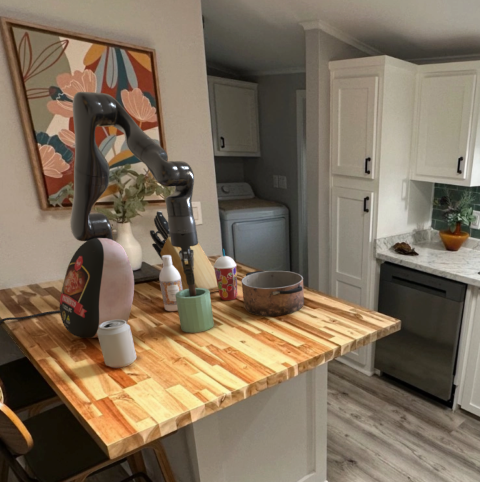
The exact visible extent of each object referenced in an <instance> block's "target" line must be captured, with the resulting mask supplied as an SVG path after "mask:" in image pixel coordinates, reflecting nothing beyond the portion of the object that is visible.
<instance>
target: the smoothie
mask: <svg viewBox="0 0 480 482" xmlns="http://www.w3.org/2000/svg"><path fill="white" fill-rule="evenodd" d="M221 251H222V255H221V256H219V257H217V258H216V260H215V261H214V264H213V268H214V270H215V275H216V280H217V285H218V295H219V297H220V298H221V300H223V301H232V300H235V299H237V296H238V295H239V293H238V272H237V271H238V270H237V263H236V262H235V260H234V259H233V258H232V257H231V256H228V255H226V254H225V253H226V252H225V249H224V248H222V250H221Z"/></svg>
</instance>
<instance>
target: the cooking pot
mask: <svg viewBox="0 0 480 482" xmlns="http://www.w3.org/2000/svg"><path fill="white" fill-rule="evenodd" d="M241 289H242V299H243V307H244V309H245V311H247V313H250V314H253V315H255V316H262V317H277V316H284V315H285V316H286V315H290V314H293V313H295V312H298V311H299V310H300V309H302V308H303V306H304V304H305V295H304V293H305V292H304V277H303V275H301V274H299V273H297V272H294V271H289V270H288V271H286V270H266V271H265V270H254V271H250V272H246V273H245V276H244V277H243V278H242V279H241Z"/></svg>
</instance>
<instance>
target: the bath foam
mask: <svg viewBox="0 0 480 482" xmlns="http://www.w3.org/2000/svg"><path fill="white" fill-rule="evenodd" d="M161 261H162V265H163V266H162V268H161V270H160V271H159V276H158V278H159V279H158V281H159V286H160V291H161V296H162V300H163V301H162V302H163V307H164V310H165V311H167V312H178V308H177V302H176V296H175V295H176V293H177V292H179V291H181V290H183V288H182V282H181V276H180V274H179V272H178V271H177V269H176V268H175V267H174V266H173V265H172V259H171V255H164V256H162V259H161Z"/></svg>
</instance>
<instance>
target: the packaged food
mask: <svg viewBox="0 0 480 482" xmlns="http://www.w3.org/2000/svg"><path fill="white" fill-rule="evenodd" d="M65 271H66V272H65V274H64V275H65V276H64V280H63V284H62V288H61V292H60V297H59V310H60V313H59V315H60V318H61V322H62V324H63V326H64V328H65V329H66V331H68V332H69V334H72V335H73V336H74V337H76V338H82V339H93V338H98V334H97V331H98V329H99V325H100V324H101V323H103V322H106V321H110V320H118V319H119V320H125V321H126V324H128V323H129V319H130V315H131V311H132V307H133V303H134V302H133V301H134V295H135V294H134V293H135V276H134V271H133V267H132V265H131V261H130V259H129V256H128V254H127V252H126V250H125V248H124V247H123V246H122V244H120V243H119V242H117V241H115V240H114V239H113V240H111V239H107V238H95V239H91V240H88V241H84V242H83V243H82V244H80V246H79V247H78V248H77V249H76V251H75V252H74V254H73V255H72V257H71V259H70V261H69V263H68V266H67V267H66V270H65Z"/></svg>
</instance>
